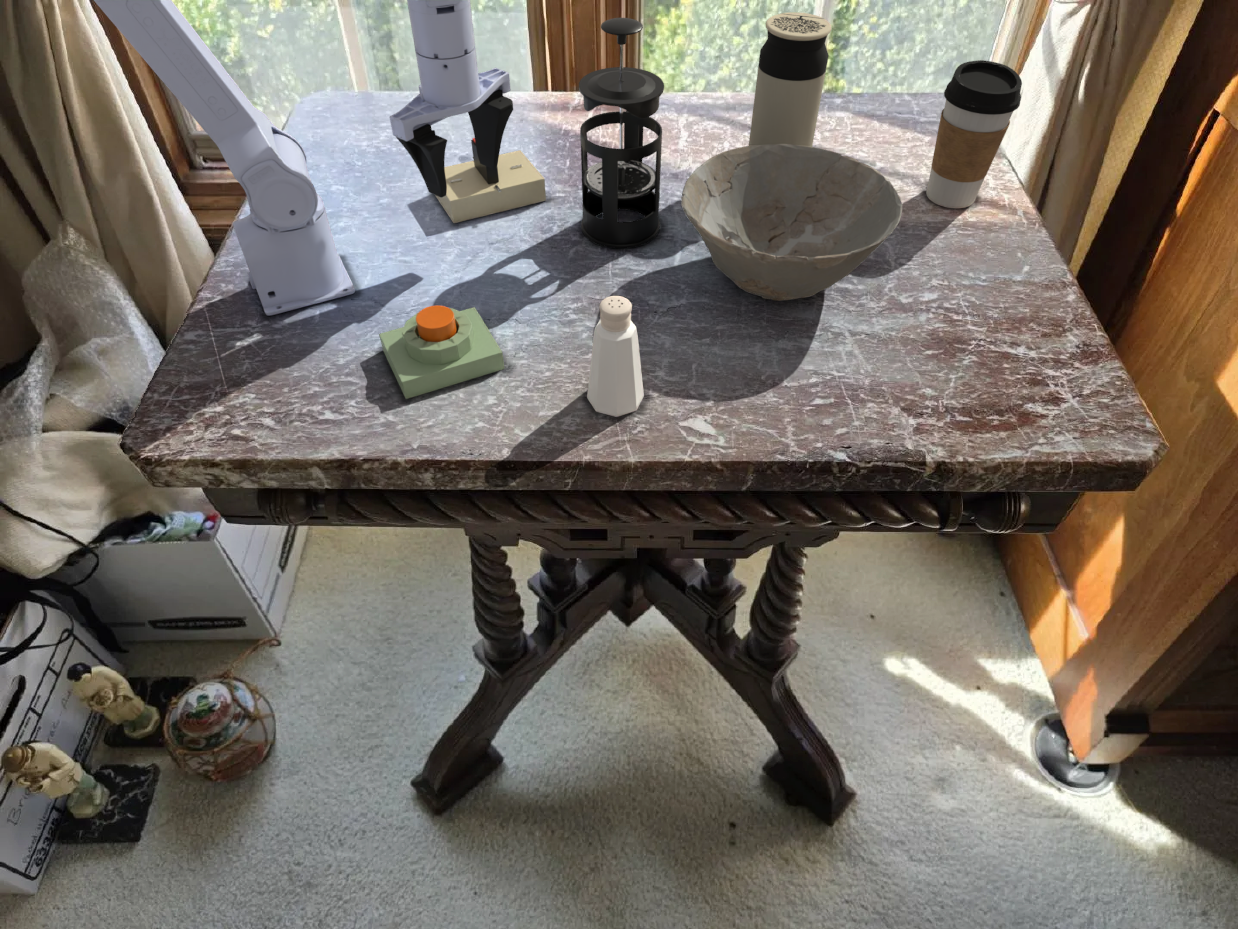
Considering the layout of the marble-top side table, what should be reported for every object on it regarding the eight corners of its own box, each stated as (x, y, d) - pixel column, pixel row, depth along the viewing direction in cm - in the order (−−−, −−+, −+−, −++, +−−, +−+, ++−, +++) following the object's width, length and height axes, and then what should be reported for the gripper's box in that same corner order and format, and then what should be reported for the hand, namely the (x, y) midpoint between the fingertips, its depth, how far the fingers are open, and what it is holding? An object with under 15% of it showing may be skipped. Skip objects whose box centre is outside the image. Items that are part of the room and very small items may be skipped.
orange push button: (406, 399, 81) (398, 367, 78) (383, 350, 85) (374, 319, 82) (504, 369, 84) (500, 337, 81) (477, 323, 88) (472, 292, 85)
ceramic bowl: (889, 238, 100) (911, 158, 92) (866, 360, 85) (890, 276, 77) (705, 207, 104) (712, 128, 97) (653, 317, 89) (657, 234, 82)
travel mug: (796, 191, 107) (822, 41, 94) (737, 176, 109) (754, 29, 96) (815, 163, 112) (842, 17, 98) (757, 150, 114) (776, 6, 101)
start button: (425, 347, 80) (422, 332, 79) (414, 325, 82) (411, 311, 81) (461, 336, 81) (459, 322, 80) (449, 315, 83) (447, 301, 82)
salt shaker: (642, 378, 83) (645, 284, 75) (645, 417, 79) (649, 322, 71) (586, 379, 83) (583, 285, 74) (587, 418, 79) (584, 324, 71)
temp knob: (499, 181, 102) (496, 153, 99) (488, 184, 102) (484, 155, 99) (484, 163, 105) (481, 135, 102) (474, 165, 105) (470, 137, 102)
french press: (647, 257, 97) (654, 48, 80) (568, 244, 98) (559, 37, 82) (671, 205, 104) (682, 4, 87) (598, 194, 106) (595, -5, 89)
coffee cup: (978, 180, 109) (1019, 60, 98) (991, 216, 103) (1036, 92, 92) (911, 177, 109) (945, 57, 98) (920, 212, 104) (957, 89, 93)
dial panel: (455, 226, 101) (451, 202, 99) (431, 190, 107) (427, 166, 104) (548, 203, 105) (546, 179, 102) (520, 169, 110) (518, 146, 108)
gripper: (469, 15, 87) (484, 142, 97) (358, 60, 79) (386, 193, 89) (520, 32, 84) (530, 161, 94) (409, 81, 76) (433, 216, 86)
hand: (463, 179), depth 91 cm, fingers open, 7 cm apart
